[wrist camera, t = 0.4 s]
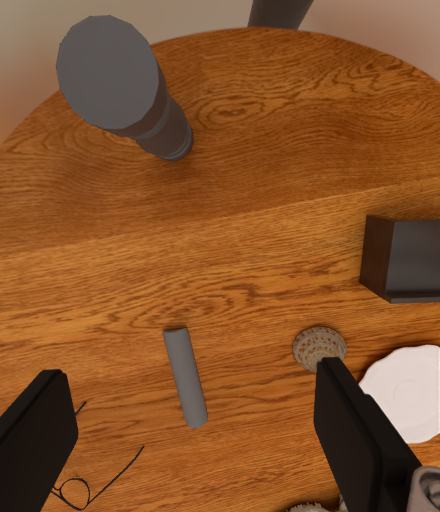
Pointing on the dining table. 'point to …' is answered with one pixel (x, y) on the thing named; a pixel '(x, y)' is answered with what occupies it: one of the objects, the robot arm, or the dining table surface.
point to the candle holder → (121, 86)
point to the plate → (408, 390)
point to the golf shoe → (318, 507)
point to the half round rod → (186, 376)
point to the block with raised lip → (402, 259)
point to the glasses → (86, 483)
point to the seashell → (317, 346)
